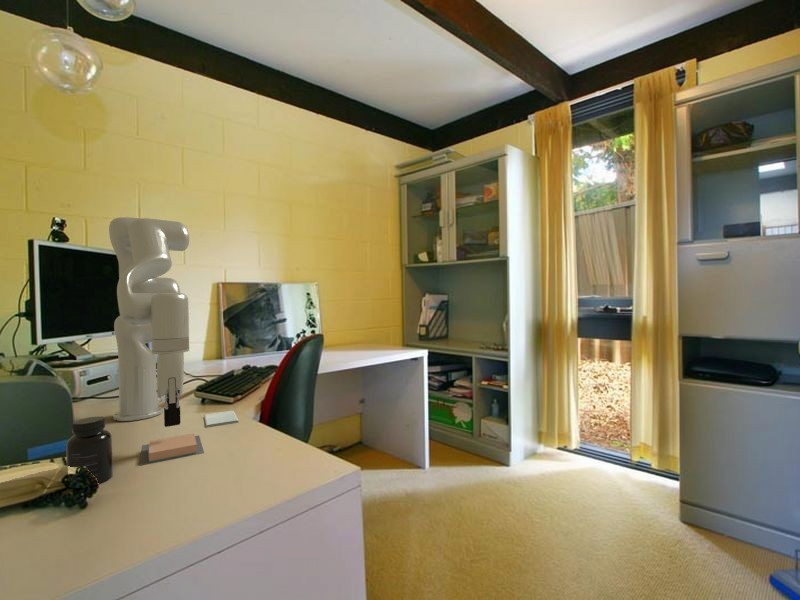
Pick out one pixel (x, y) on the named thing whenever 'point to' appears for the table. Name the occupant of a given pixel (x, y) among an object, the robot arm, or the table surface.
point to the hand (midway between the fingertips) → (172, 424)
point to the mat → (146, 461)
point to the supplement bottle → (91, 448)
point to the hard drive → (220, 418)
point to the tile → (172, 447)
